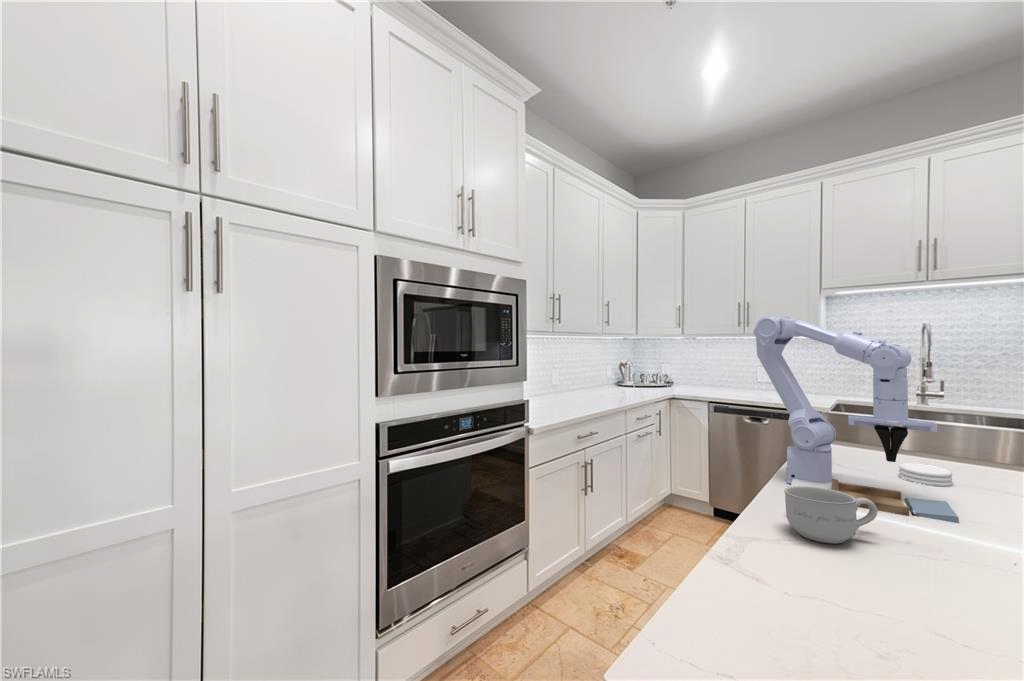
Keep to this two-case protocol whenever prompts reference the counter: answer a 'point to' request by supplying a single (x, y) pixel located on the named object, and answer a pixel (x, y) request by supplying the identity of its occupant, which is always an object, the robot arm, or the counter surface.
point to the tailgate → (931, 509)
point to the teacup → (825, 513)
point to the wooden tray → (874, 497)
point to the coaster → (925, 474)
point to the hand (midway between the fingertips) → (890, 460)
